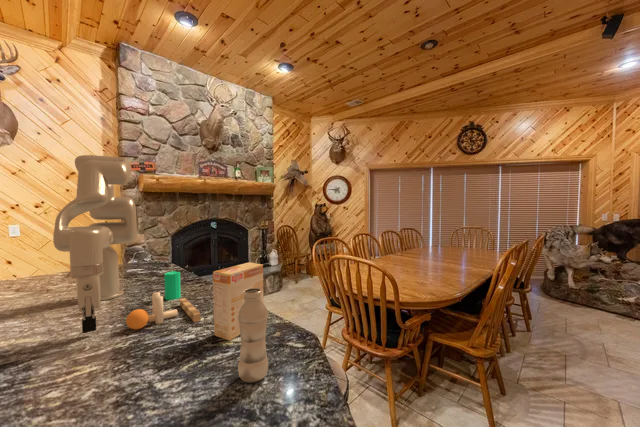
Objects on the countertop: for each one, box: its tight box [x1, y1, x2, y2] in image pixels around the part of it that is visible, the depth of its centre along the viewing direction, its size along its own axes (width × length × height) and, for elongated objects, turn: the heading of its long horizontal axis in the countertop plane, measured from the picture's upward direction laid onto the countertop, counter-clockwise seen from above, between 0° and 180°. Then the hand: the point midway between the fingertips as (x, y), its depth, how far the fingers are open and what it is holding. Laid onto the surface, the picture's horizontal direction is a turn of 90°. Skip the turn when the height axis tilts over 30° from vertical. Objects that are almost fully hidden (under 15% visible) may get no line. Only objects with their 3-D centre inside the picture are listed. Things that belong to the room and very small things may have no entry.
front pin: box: [148, 308, 179, 323], centre depth 96 cm, size 2×2×8 cm
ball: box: [125, 308, 150, 330], centre depth 89 cm, size 6×6×6 cm
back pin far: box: [151, 291, 161, 314], centre depth 97 cm, size 2×2×8 cm
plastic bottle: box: [237, 288, 269, 384], centre depth 63 cm, size 6×7×20 cm
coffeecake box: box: [212, 262, 265, 341], centre depth 88 cm, size 15×7×20 cm, turn 149°
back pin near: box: [154, 295, 165, 325], centre depth 93 cm, size 2×2×8 cm
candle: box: [163, 270, 182, 301], centre depth 118 cm, size 6×6×12 cm
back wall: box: [179, 297, 201, 323], centre depth 102 cm, size 20×2×2 cm, turn 39°
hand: (89, 330), depth 84 cm, fingers closed
